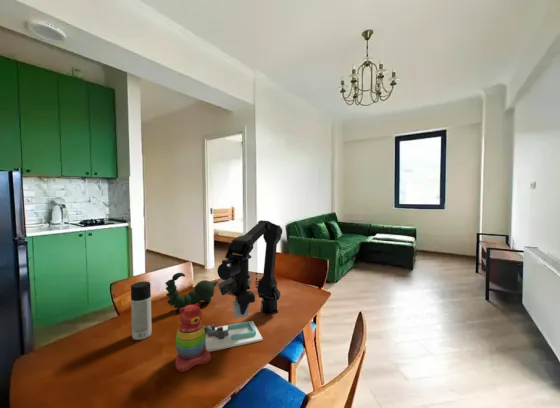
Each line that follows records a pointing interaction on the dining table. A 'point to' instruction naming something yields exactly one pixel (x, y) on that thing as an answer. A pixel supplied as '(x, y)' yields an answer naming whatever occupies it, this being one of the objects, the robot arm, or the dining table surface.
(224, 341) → the board
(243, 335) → the end holder
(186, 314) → the stacking bear
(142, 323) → the spray can
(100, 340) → the dining table surface
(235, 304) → the block
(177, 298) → the toy figurine
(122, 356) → the dining table surface
